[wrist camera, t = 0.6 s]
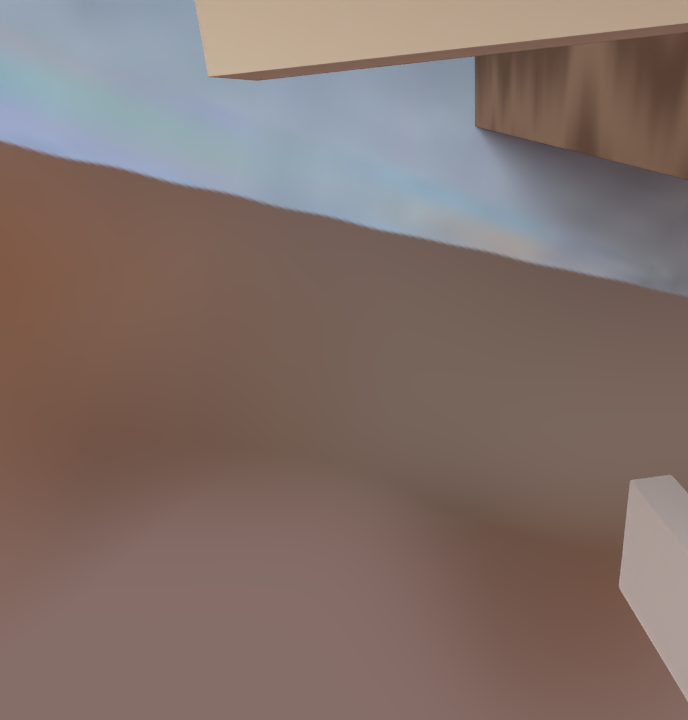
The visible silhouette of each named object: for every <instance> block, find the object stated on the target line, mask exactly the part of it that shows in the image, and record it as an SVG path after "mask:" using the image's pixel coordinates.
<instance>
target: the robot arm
mask: <svg viewBox="0 0 688 720" xmlns="http://www.w3.org/2000/svg"><path fill="white" fill-rule="evenodd" d="M619 588H620V590H621V592H622V593H623V595H624V597H625V598H626V600H627V601H628V603H629V605H630V606H631V608H632V610H633V612H634V613H635V615H636V617H637V618H638V620H639V621H640V623H641V625H642V626H643V628H644V630H645V631H646V633H647V635H648V636H649V638H650V640H651V641H652V643H653V645H654V646H655V648H656V650H657V651H658V653H659V655H660V656H661V658H662V660H663V661H664V663H665V664H666V666H667V668H668V670H669V671H670V673H671V675H672V676H673V678H674V680H675V681H676V683H677V684H678V686H679V688H680V689H681V691H682V693H683V694H684V696H685V698H686V699H687V701H688V493H687V492H686V491H685V490H684V488H683V487H682V486H681V485H680V484H679V483H678V482H677V481H676V480H675V479H674V477H673V476H672V475H666V476H658V477H651V478H644V479H636V480H630V487H629V497H628V506H627V516H626V526H625V534H624V544H623V553H622V562H621V572H620V582H619Z"/></svg>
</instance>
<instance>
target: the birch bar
mask: <svg viewBox="0 0 688 720" xmlns="http://www.w3.org/2000/svg"><path fill="white" fill-rule="evenodd" d="M195 5H196V11H197V16H198V22H199V27H200V33H201V38H202V44H203V49H204V55H205V61H206V66H207V72H208V77H218V78H230V79H243V80H256V81H258V80H267V79H276V78H285V77H294V76H303V75H312V74H321V73H330V72H339V71H347V70H356V69H365V68H374V67H383V66H392V65H401V64H410V63H419V62H428V61H436V60H445V59H454V58H463V57H472V56H481V55H490V54H499V53H508V52H517V51H525V50H534V49H543V48H552V47H561V46H570V45H579V44H588V43H597V42H606V41H614V40H623V39H632V38H641V37H650V36H659V35H668V34H677V33H686V32H688V0H195Z"/></svg>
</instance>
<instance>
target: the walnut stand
mask: <svg viewBox="0 0 688 720" xmlns="http://www.w3.org/2000/svg"><path fill="white" fill-rule="evenodd" d="M475 126H476V127H480V128H484V129H488V130H492V131H496V132H500V133H504V134H508V135H512V136H516V137H520V138H524V139H528V140H532V141H536V142H540V143H544V144H548V145H552V146H556V147H560V148H564V149H568V150H572V151H576V152H580V153H584V154H588V155H592V156H596V157H600V158H604V159H608V160H612V161H616V162H620V163H624V164H628V165H632V166H636V167H639V168H643V169H647V170H651V171H655V172H659V173H663V174H667V175H671V176H675V177H679V178H683V179H687V180H688V32H686V33H677V34H668V35H659V36H650V37H641V38H632V39H623V40H614V41H606V42H597V43H588V44H579V45H570V46H561V47H552V48H543V49H534V50H525V51H517V52H508V53H499V54H490V55H481V56H475Z"/></svg>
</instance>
